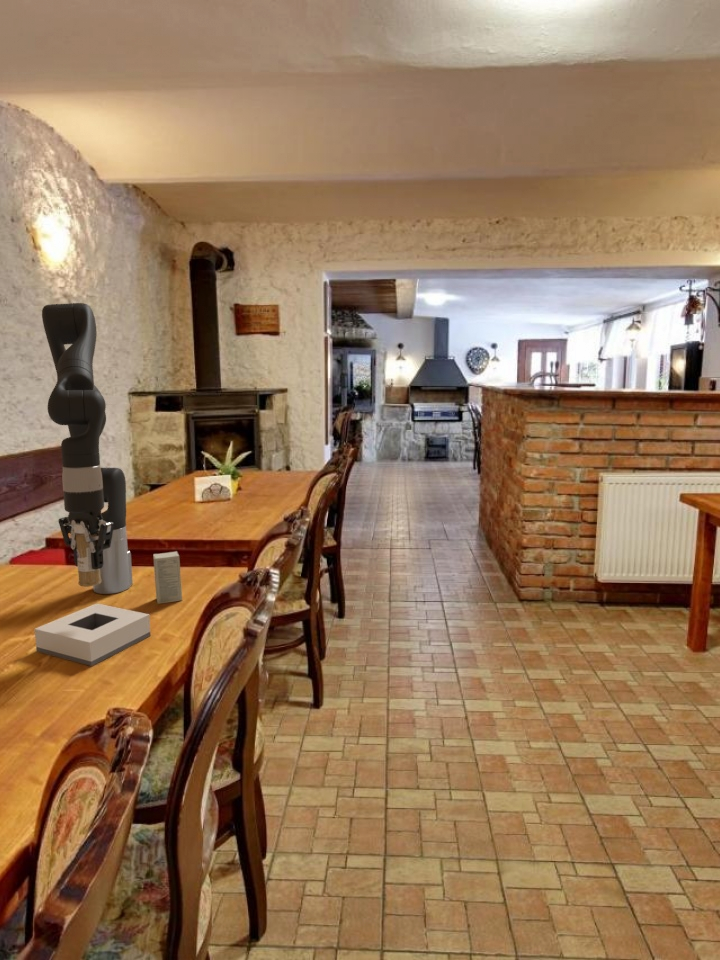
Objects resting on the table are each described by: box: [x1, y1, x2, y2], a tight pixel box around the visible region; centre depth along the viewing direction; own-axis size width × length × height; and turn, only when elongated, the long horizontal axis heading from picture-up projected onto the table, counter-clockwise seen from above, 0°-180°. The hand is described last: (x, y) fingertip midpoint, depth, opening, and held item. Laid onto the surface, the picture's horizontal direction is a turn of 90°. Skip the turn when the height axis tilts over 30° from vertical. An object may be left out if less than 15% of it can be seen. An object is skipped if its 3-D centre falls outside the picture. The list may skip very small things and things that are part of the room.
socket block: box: [34, 602, 151, 667], centre depth 130 cm, size 16×16×5 cm
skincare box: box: [153, 550, 183, 605], centre depth 155 cm, size 6×4×12 cm
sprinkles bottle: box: [74, 523, 102, 588], centre depth 127 cm, size 5×5×14 cm
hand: (89, 566), depth 128 cm, fingers closed on sprinkles bottle, 4 cm apart
